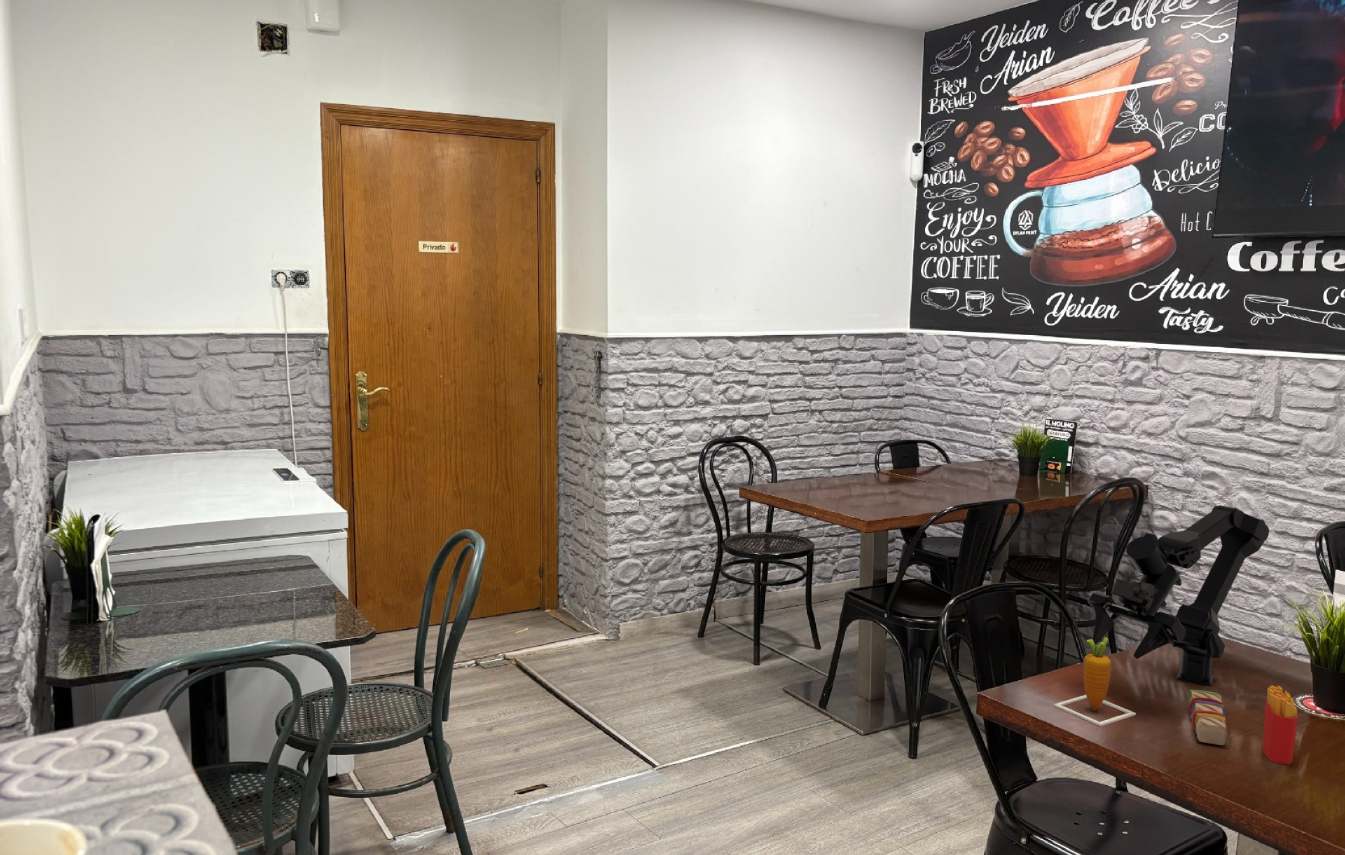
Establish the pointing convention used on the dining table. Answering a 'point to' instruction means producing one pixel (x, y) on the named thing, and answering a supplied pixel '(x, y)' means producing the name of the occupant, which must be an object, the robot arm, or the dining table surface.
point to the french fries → (1279, 726)
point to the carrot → (1096, 674)
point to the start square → (1102, 723)
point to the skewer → (1208, 716)
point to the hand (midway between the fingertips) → (1114, 650)
